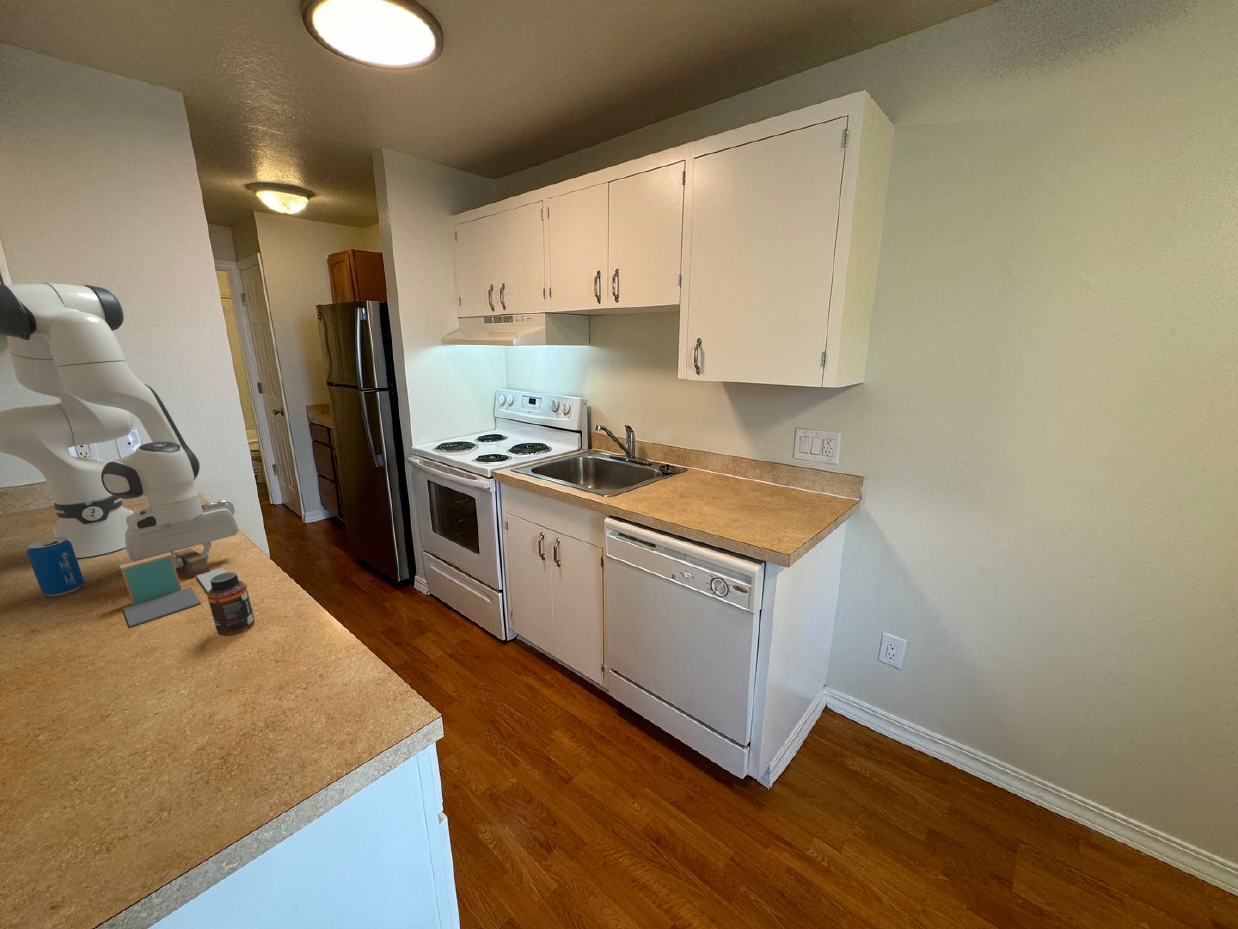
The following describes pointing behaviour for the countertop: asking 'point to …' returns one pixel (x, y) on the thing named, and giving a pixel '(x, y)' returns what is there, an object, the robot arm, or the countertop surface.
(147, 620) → the mat
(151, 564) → the tile
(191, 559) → the tall taupe beveled block
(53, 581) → the beverage can
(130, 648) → the countertop surface
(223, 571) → the pad
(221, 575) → the supplement bottle
